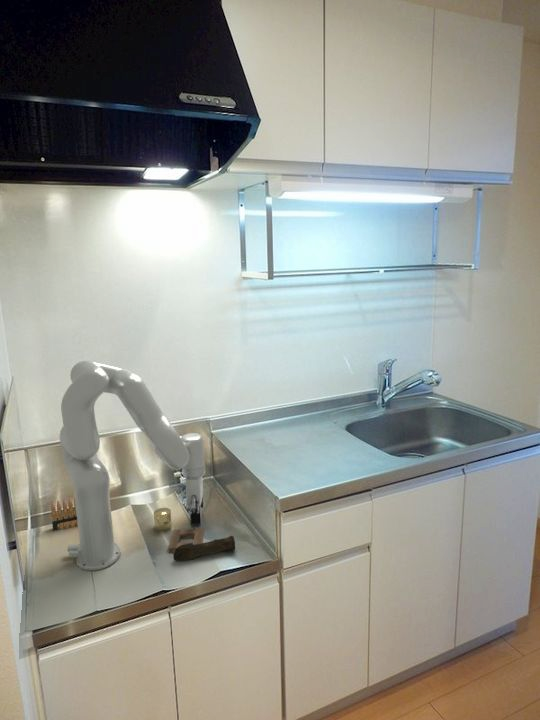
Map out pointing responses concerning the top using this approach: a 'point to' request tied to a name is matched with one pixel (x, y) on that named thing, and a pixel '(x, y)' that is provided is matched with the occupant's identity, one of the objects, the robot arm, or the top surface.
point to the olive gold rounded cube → (162, 519)
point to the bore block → (185, 533)
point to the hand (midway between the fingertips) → (197, 515)
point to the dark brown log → (203, 548)
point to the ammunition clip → (63, 515)
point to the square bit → (200, 514)
